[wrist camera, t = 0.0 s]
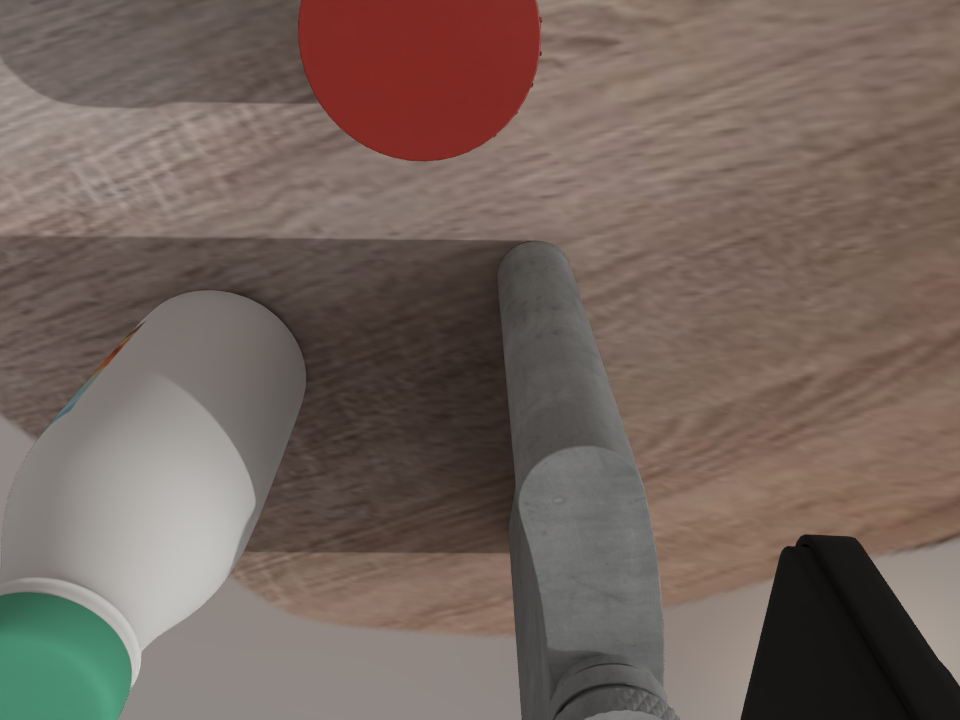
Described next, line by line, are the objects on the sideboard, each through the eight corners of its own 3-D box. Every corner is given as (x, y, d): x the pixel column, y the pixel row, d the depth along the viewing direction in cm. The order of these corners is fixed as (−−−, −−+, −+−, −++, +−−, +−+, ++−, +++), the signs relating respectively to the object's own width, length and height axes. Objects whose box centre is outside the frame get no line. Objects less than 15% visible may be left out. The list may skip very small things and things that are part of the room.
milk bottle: (210, 248, 38) (-30, 517, 20) (345, 369, 40) (243, 711, 22) (97, 364, 40) (-216, 705, 22) (231, 473, 42) (51, 864, 24)
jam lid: (259, -10, 26) (246, -8, 25) (462, -147, 25) (462, -154, 23) (388, 192, 29) (383, 205, 27) (579, 77, 27) (586, 84, 26)
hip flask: (495, 242, 38) (520, 506, 20) (592, 237, 38) (708, 497, 20) (509, 555, 44) (538, 973, 26) (592, 551, 44) (679, 967, 26)
